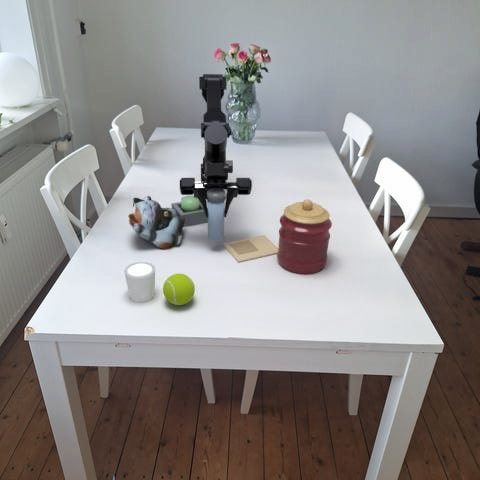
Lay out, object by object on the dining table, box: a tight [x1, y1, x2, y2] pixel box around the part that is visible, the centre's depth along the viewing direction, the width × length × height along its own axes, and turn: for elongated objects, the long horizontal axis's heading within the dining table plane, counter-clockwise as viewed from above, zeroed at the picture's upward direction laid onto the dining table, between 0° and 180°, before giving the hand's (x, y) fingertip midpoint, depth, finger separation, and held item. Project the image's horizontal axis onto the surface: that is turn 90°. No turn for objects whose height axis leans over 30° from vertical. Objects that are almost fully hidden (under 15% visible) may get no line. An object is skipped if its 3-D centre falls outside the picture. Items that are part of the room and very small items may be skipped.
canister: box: [276, 198, 333, 275], centre depth 117 cm, size 13×13×18 cm
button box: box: [170, 201, 208, 228], centre depth 141 cm, size 9×9×4 cm
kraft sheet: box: [222, 234, 279, 264], centre depth 127 cm, size 13×10×1 cm
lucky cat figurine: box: [128, 195, 185, 250], centre depth 127 cm, size 15×12×14 cm
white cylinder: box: [123, 261, 156, 303], centre depth 105 cm, size 7×7×7 cm
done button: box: [180, 195, 199, 213], centre depth 140 cm, size 5×5×4 cm
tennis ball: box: [162, 273, 196, 306], centre depth 103 cm, size 7×7×7 cm
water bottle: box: [206, 189, 226, 242], centre depth 122 cm, size 5×5×13 cm
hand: (216, 217), depth 120 cm, fingers closed on water bottle, 4 cm apart
